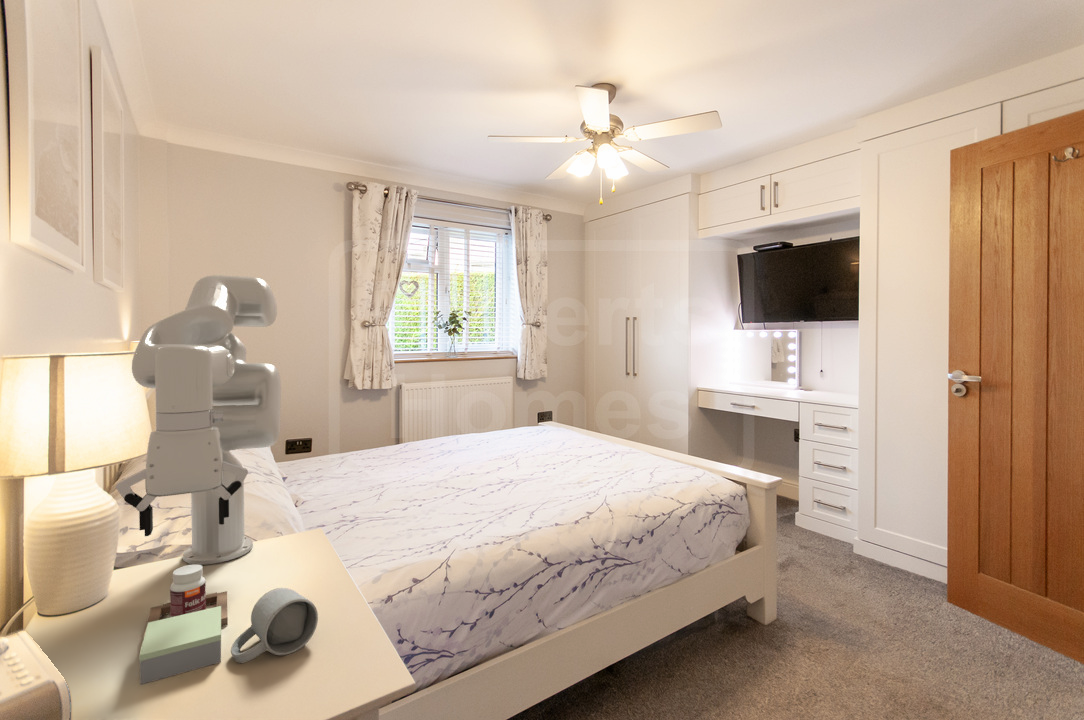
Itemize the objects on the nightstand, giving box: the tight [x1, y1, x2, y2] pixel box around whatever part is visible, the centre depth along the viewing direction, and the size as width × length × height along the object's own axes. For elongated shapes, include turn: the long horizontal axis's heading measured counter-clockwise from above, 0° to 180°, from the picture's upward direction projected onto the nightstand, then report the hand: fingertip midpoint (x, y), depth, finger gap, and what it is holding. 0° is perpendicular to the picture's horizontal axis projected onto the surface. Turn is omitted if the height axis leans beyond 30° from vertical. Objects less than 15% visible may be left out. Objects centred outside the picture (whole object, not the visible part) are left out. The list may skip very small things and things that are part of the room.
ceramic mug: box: [230, 587, 319, 664], centre depth 75 cm, size 11×8×8 cm
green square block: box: [139, 606, 222, 685], centre depth 73 cm, size 9×9×4 cm
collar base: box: [142, 590, 229, 641], centre depth 82 cm, size 11×11×1 cm
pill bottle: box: [169, 564, 207, 618], centre depth 82 cm, size 5×5×8 cm
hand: (186, 527), depth 81 cm, fingers open, 9 cm apart
